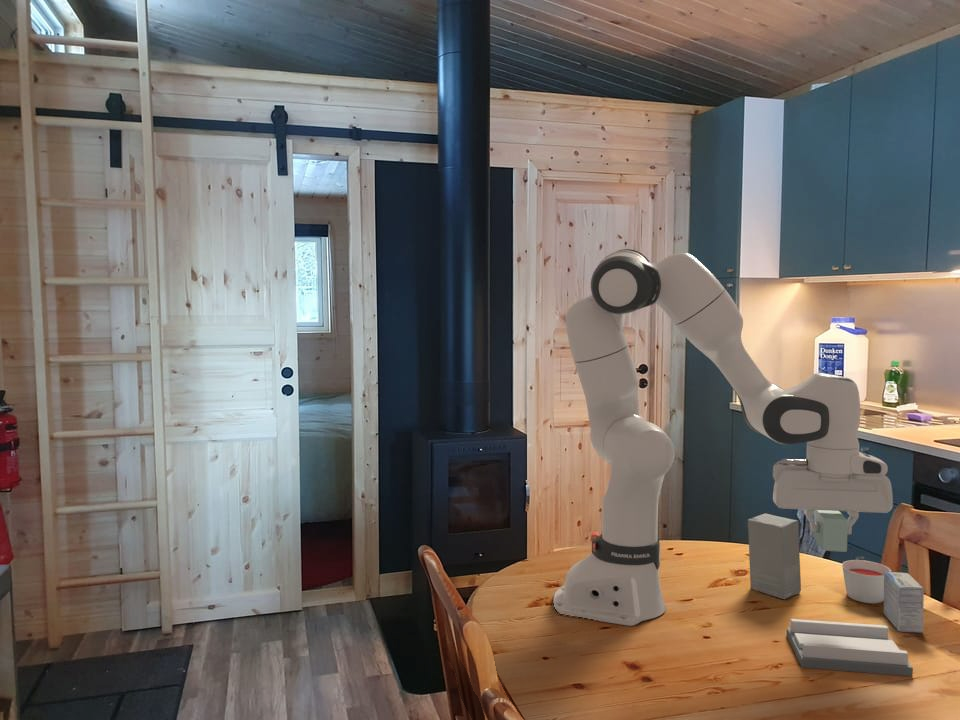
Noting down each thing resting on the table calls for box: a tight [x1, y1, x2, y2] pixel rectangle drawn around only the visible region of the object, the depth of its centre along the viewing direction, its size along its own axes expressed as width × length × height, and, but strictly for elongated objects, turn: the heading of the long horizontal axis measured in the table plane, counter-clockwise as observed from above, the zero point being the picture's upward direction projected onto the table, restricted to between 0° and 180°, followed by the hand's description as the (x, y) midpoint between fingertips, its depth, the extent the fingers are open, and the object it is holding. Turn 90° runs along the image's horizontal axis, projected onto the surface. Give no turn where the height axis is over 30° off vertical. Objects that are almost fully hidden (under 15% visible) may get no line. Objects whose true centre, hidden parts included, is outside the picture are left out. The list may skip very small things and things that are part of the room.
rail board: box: [786, 618, 914, 677], centre depth 126 cm, size 17×12×4 cm
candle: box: [841, 559, 892, 604], centre depth 150 cm, size 9×9×6 cm
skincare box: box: [747, 512, 802, 600], centre depth 153 cm, size 8×7×16 cm
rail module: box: [813, 510, 848, 553], centre depth 136 cm, size 4×7×6 cm, turn 168°
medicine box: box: [883, 571, 925, 634], centre depth 138 cm, size 8×4×9 cm, turn 168°
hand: (830, 532), depth 136 cm, fingers closed on rail module, 4 cm apart
